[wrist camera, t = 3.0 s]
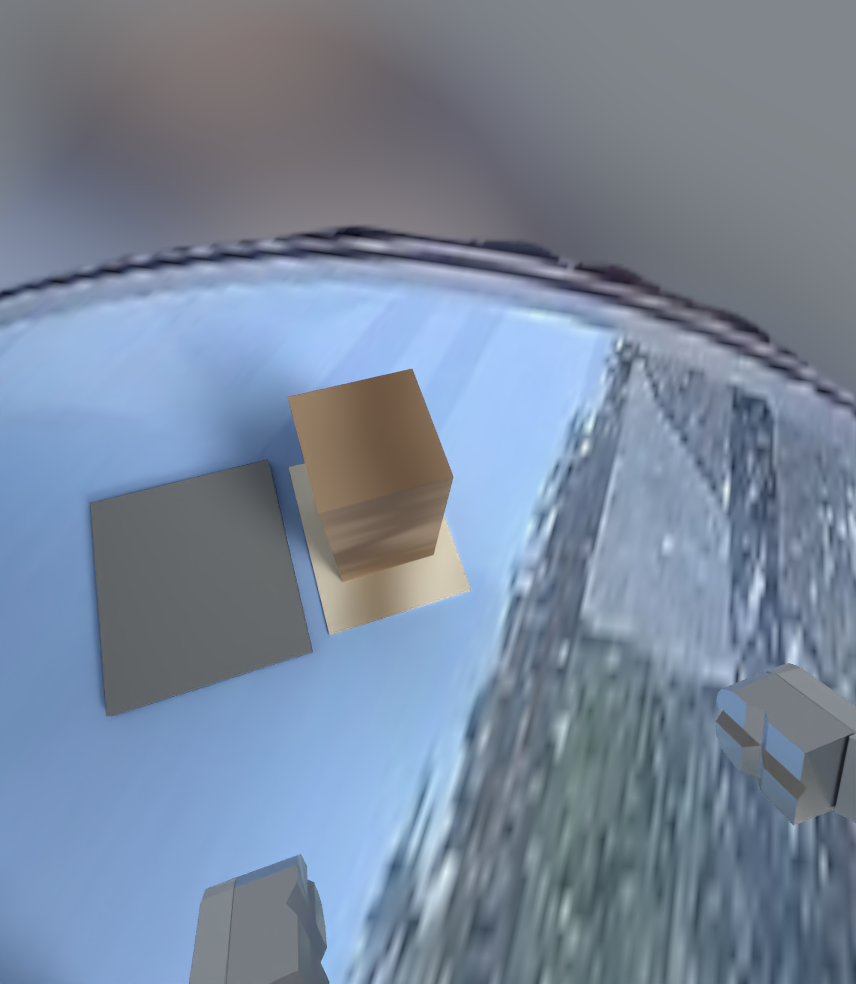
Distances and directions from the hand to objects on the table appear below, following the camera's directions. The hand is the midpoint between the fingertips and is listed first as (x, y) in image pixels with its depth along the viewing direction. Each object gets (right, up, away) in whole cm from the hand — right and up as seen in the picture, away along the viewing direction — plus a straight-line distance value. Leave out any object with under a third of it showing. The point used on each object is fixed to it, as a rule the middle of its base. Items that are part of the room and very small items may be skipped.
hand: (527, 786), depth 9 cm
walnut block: (-4, +4, +16) cm, 17 cm away
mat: (-13, +1, +15) cm, 20 cm away
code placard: (-4, +4, +17) cm, 17 cm away
